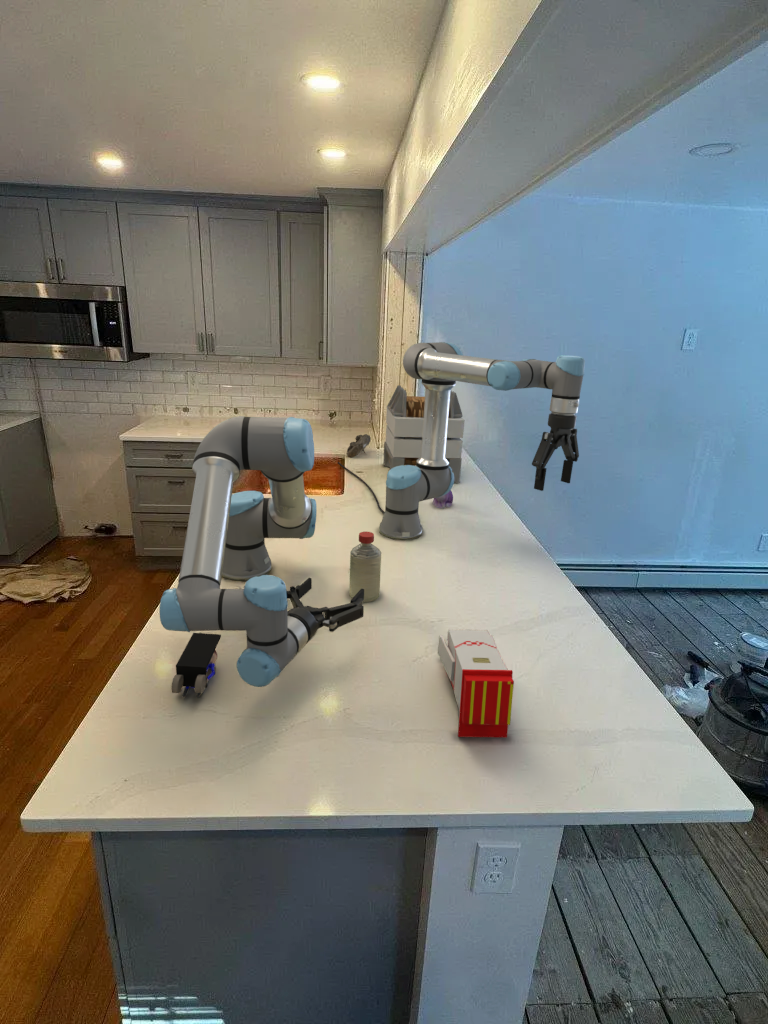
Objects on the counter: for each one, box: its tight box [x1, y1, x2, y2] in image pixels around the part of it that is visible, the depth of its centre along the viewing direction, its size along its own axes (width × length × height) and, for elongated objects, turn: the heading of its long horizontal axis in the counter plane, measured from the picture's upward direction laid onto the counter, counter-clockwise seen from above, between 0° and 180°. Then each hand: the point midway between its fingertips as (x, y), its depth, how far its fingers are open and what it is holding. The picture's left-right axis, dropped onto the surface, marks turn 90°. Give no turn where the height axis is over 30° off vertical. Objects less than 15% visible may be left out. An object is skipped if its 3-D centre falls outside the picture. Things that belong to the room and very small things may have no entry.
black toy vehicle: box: [170, 632, 222, 699], centre depth 117 cm, size 7×8×15 cm
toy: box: [437, 628, 515, 738], centre depth 117 cm, size 12×13×30 cm
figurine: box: [432, 489, 454, 509], centre depth 228 cm, size 9×10×15 cm
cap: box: [358, 531, 375, 544], centre depth 151 cm, size 4×4×2 cm
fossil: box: [346, 433, 372, 458], centre depth 305 cm, size 22×10×15 cm
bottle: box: [348, 542, 382, 603], centre depth 154 cm, size 8×8×18 cm
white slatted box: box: [383, 384, 465, 484], centre depth 268 cm, size 34×33×41 cm
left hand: (336, 588), depth 135 cm, fingers open, 13 cm apart
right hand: (552, 485), depth 166 cm, fingers open, 13 cm apart
